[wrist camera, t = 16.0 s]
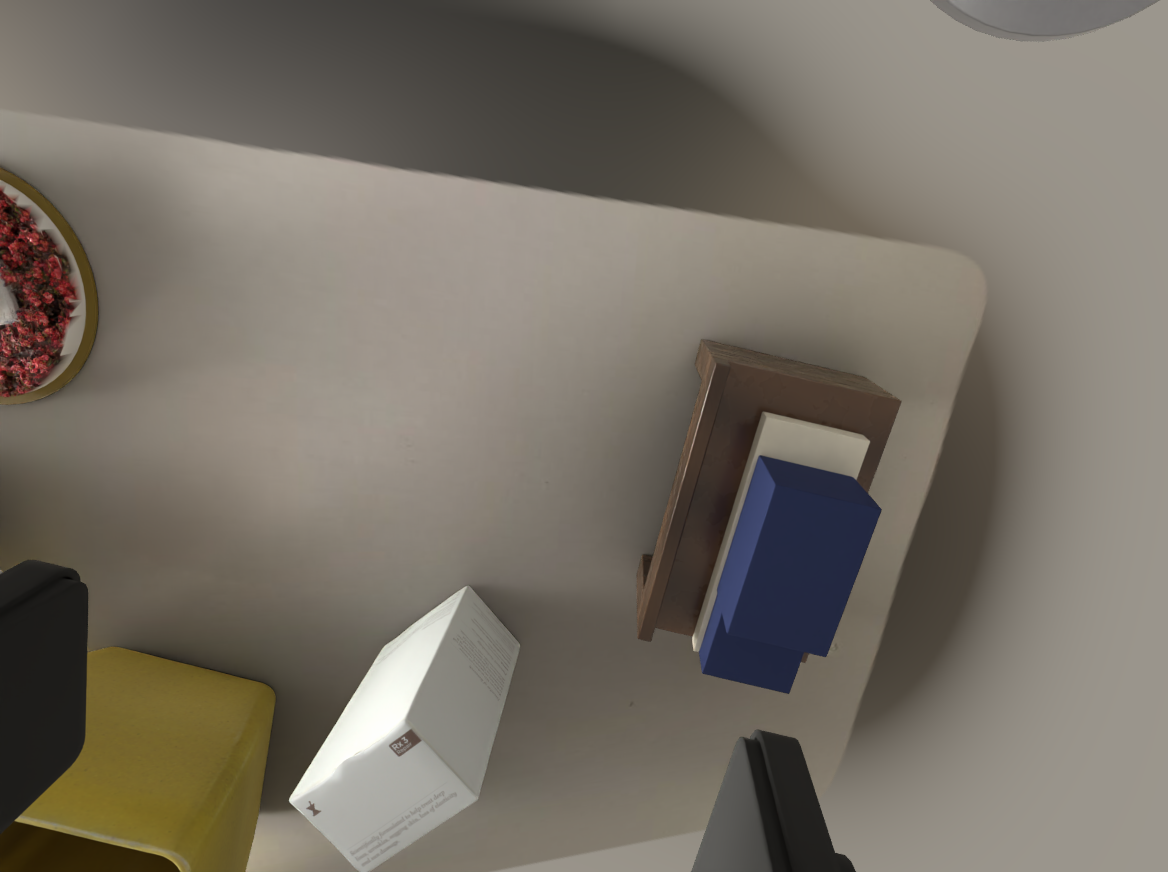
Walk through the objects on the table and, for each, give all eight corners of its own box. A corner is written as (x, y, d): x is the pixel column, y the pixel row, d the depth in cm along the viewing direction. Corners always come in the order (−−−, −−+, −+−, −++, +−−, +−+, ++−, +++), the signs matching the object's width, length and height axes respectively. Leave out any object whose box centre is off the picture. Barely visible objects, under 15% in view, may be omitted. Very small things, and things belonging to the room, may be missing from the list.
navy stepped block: (762, 411, 37) (784, 442, 32) (863, 434, 37) (902, 469, 32) (691, 639, 41) (700, 701, 36) (782, 660, 41) (805, 725, 36)
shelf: (701, 338, 42) (715, 362, 35) (865, 377, 42) (913, 408, 35) (636, 575, 47) (636, 639, 40) (784, 609, 47) (812, 680, 40)
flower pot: (330, 658, 50) (189, 861, 34) (296, 861, 56) (160, 1118, 40) (67, 591, 50) (-199, 763, 34) (59, 801, 56) (-174, 1035, 40)
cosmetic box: (437, 700, 51) (361, 886, 36) (380, 640, 50) (278, 807, 35) (527, 639, 49) (483, 809, 35) (469, 575, 48) (400, 724, 33)
